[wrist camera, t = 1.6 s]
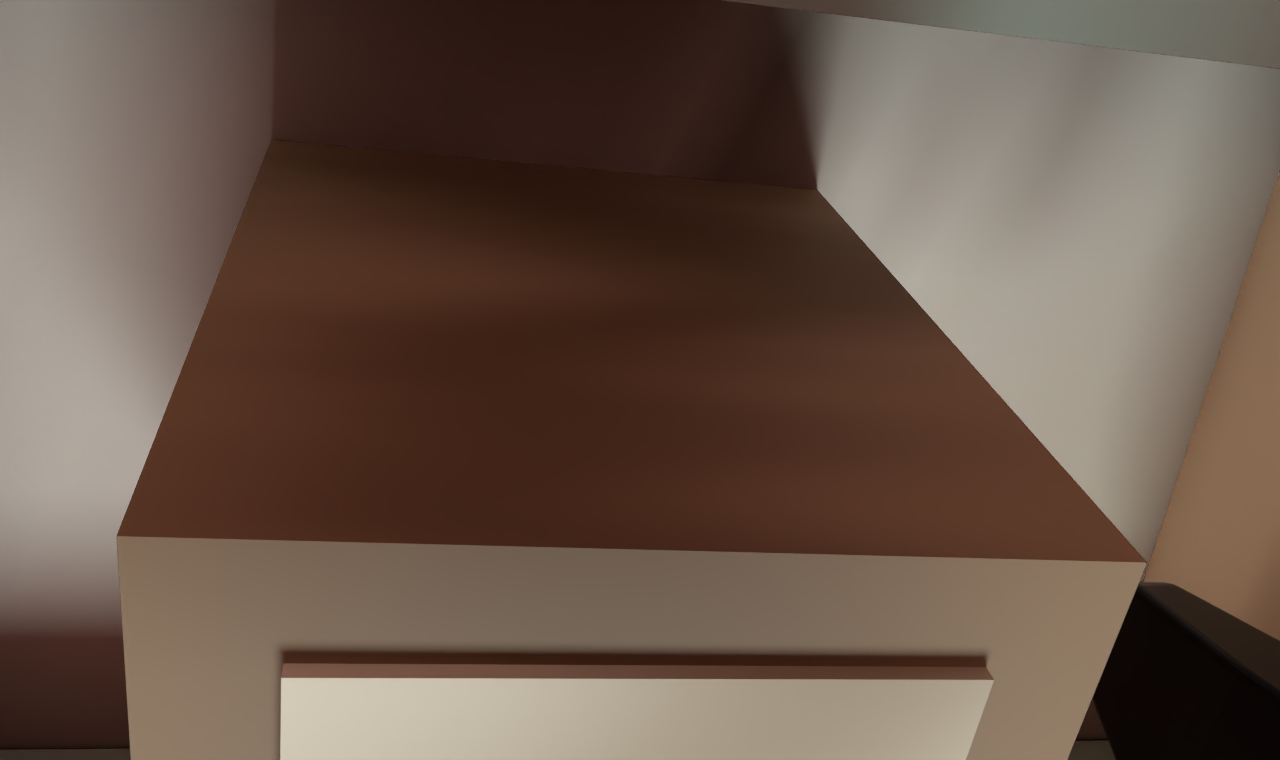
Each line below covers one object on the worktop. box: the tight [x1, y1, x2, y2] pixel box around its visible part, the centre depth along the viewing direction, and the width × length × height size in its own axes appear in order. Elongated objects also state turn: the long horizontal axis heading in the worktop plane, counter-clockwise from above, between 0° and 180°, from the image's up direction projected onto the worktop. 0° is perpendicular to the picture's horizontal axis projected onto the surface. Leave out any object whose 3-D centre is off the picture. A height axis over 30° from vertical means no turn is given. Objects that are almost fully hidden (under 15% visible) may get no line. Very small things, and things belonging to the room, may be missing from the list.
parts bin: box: [0, 0, 1280, 760], centre depth 11 cm, size 22×11×2 cm, turn 82°
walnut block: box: [117, 140, 1147, 760], centre depth 9 cm, size 5×5×6 cm
